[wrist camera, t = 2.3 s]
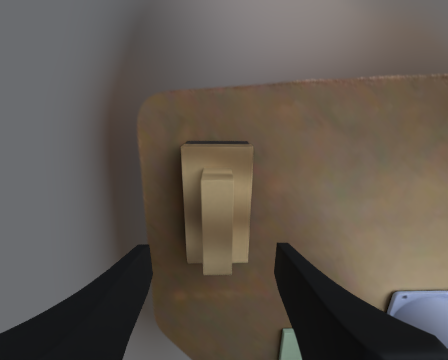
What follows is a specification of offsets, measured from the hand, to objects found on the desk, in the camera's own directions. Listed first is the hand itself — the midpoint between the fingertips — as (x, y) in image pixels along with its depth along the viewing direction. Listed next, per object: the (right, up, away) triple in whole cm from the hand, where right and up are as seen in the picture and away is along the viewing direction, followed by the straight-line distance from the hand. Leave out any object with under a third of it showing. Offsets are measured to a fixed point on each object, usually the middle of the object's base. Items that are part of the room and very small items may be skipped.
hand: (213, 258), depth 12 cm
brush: (0, +3, +7) cm, 8 cm away
